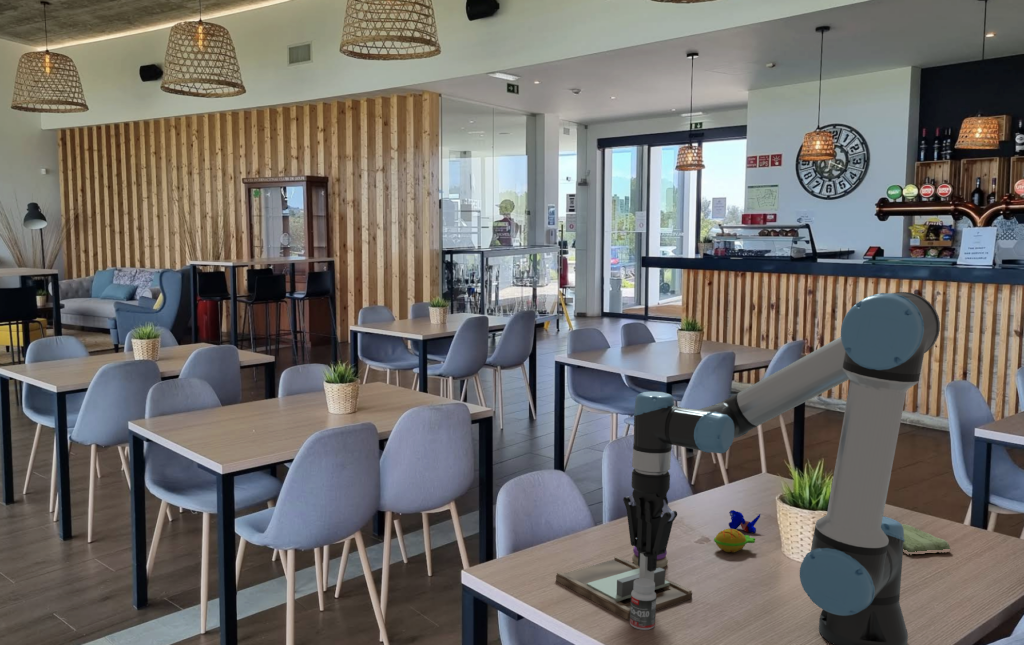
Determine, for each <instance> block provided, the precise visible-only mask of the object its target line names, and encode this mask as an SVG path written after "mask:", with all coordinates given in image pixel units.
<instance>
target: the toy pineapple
mask: <svg viewBox="0 0 1024 645" xmlns="http://www.w3.org/2000/svg"><path fill="white" fill-rule="evenodd" d="M713 541H714V542H715V544H716V546H717V547H718V548H719V549H720V550H721V551H724V552H726V553H736V552H739V551H741V550H743V548H744V547H745V546H746V545H747V544H755V543H756V538H755V537H751V536H750V535H746V534H745V535H744V534H743V533H742V532H741V531H739V530H738V529H731V528H725V529H723V530H721V531H719V532H718V533H717V534H716V536H715V537H714V539H713Z"/></svg>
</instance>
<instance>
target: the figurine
mask: <svg viewBox="0 0 1024 645" xmlns="http://www.w3.org/2000/svg"><path fill="white" fill-rule="evenodd" d="M728 514H729V516H730V520H731V522H729V523H728V526H729V529H736V530H738V528H739V527H741V529H742V530H743V531H744V532H745V533H752V532H753V533H752V534H756V532H757V528H756V527H755V526H756V523H757V522H758V520H759V519H760V518H761V513H759V514H758V515H757V516H756V517H755V518H754V519H753V520H752V521H749V520H745V517H744V514H743V513H742V512H740V511H737V510H734V509H732V510H730V511H729V513H728Z"/></svg>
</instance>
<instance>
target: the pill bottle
mask: <svg viewBox="0 0 1024 645" xmlns="http://www.w3.org/2000/svg"><path fill="white" fill-rule="evenodd" d="M633 589H634V590H632V592H631V597H630V602H631V608H630V619H629V624H630V626H631V627H633V628H635V629H637V630H641V631H648V630H652V629H654V628H655V626H656V614H657V613H656V611H657V610H656V594H657V593H656V592H655V582H654V581H653V580H650V579H647V578H639V579H636V580H634V586H633Z"/></svg>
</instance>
